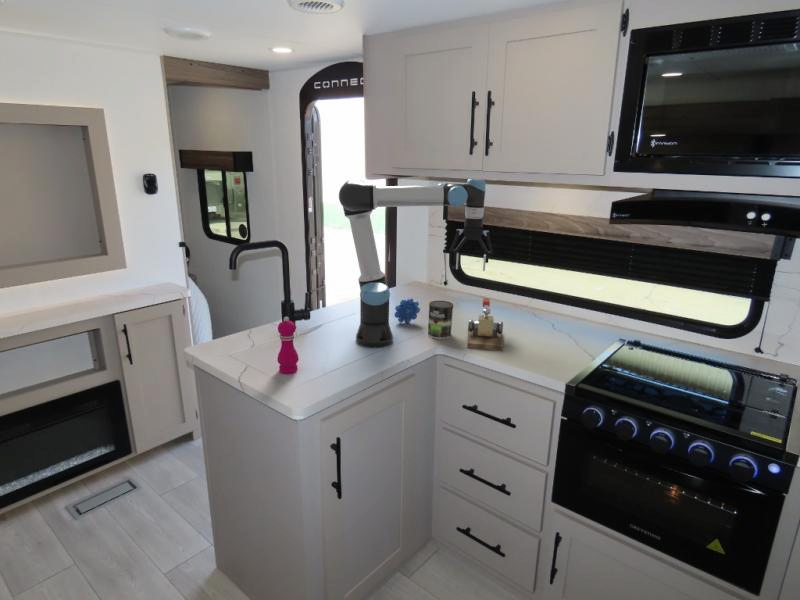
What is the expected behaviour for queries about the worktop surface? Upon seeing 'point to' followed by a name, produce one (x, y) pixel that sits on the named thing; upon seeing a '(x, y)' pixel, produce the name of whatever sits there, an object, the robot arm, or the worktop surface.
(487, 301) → the valve lever
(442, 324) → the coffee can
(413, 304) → the grapes
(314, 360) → the worktop surface
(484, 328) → the valve body
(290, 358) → the pepper mill
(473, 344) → the base board
